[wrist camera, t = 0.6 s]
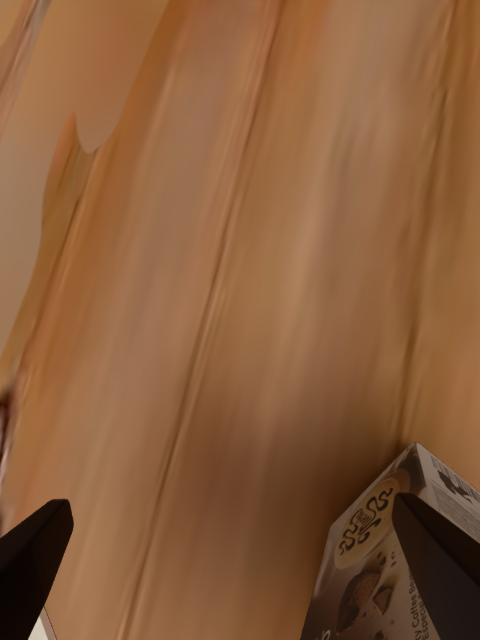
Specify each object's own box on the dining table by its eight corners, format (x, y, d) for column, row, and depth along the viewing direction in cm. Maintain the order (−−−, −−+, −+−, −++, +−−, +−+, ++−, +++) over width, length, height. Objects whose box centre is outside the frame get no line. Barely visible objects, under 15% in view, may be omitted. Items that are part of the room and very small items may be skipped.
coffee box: (408, 606, 20) (464, 1349, 5) (328, 524, 22) (218, 892, 8) (515, 517, 18) (1098, 1382, 3) (413, 436, 20) (485, 723, 6)
